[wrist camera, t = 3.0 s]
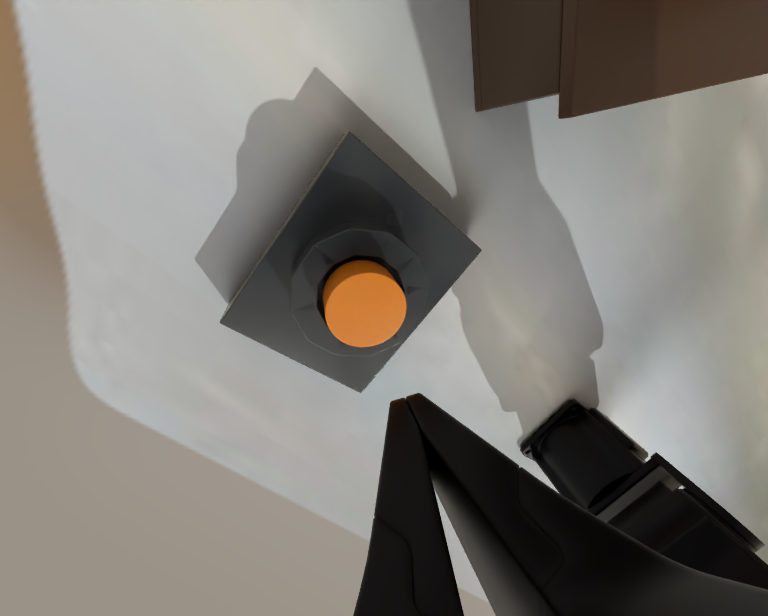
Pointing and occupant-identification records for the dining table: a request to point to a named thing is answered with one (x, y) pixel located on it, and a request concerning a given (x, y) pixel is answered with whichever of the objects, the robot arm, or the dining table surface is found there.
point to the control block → (342, 245)
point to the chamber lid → (656, 49)
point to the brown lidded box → (515, 50)
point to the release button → (363, 303)
